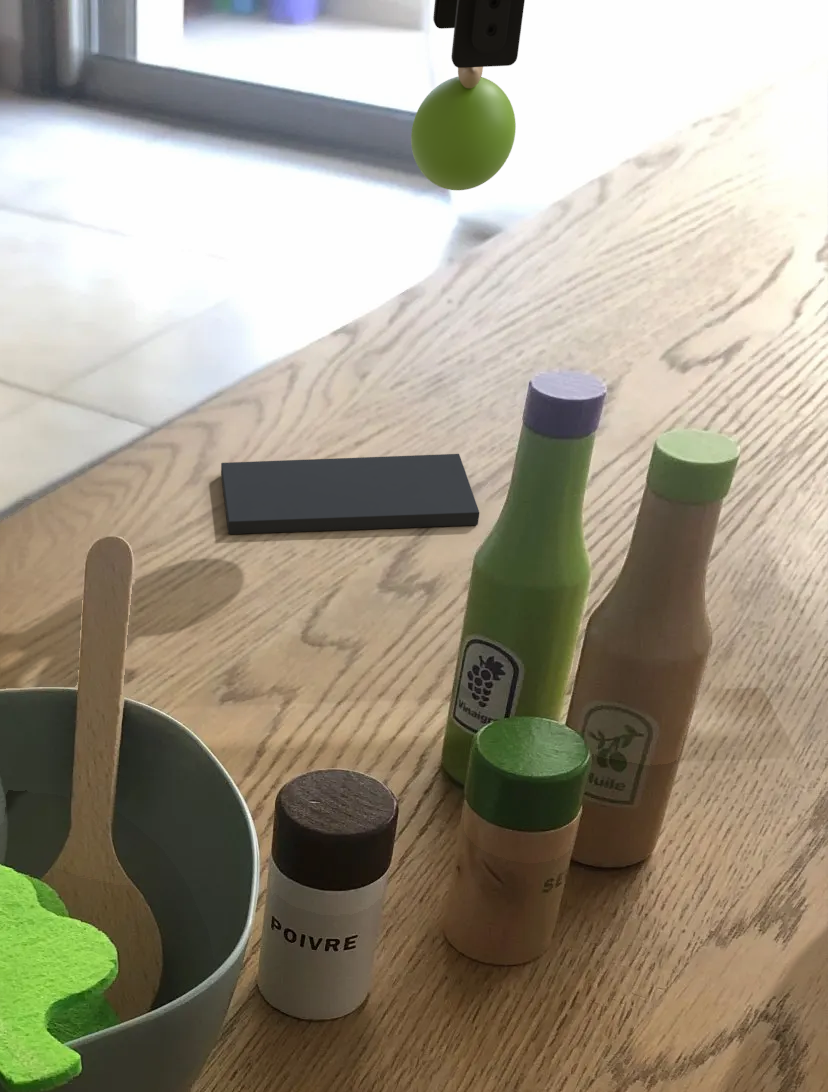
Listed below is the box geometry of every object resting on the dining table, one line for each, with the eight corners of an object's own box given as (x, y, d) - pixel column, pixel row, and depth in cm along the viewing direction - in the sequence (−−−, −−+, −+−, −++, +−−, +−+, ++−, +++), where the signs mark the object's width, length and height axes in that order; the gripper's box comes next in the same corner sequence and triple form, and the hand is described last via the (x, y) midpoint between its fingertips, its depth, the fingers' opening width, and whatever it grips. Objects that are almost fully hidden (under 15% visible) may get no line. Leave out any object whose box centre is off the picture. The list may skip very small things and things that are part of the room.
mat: (457, 466, 96) (459, 453, 96) (477, 525, 91) (479, 512, 91) (220, 475, 97) (221, 462, 96) (228, 534, 92) (228, 521, 91)
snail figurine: (506, 163, 91) (539, -90, 82) (509, 206, 87) (544, -56, 78) (407, 162, 92) (430, -88, 83) (405, 205, 87) (429, -55, 79)
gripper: (413, -425, 78) (382, 3, 91) (466, -388, 66) (420, 100, 78) (572, -434, 78) (518, -4, 90) (654, -399, 65) (578, 94, 78)
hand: (473, 41), depth 84 cm, fingers closed on snail figurine, 6 cm apart
